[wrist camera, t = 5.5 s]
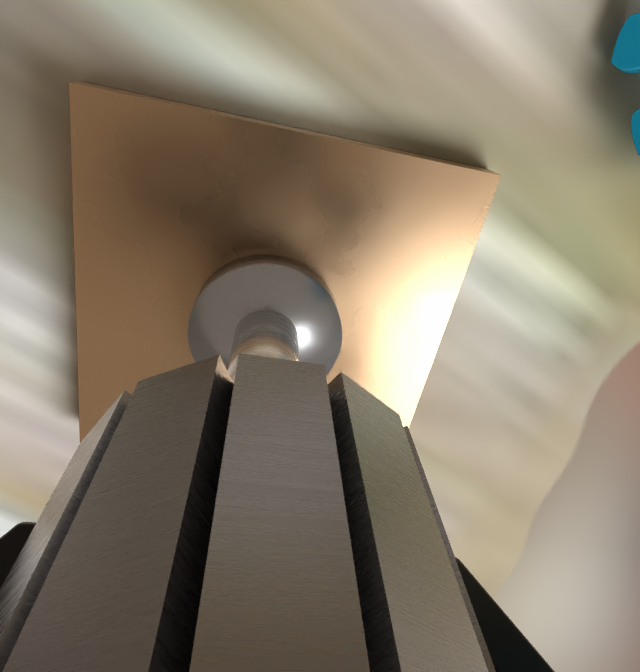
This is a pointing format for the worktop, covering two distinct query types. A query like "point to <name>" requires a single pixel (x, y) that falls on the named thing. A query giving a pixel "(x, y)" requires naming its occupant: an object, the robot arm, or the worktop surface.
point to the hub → (241, 537)
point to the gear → (630, 62)
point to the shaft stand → (258, 247)
